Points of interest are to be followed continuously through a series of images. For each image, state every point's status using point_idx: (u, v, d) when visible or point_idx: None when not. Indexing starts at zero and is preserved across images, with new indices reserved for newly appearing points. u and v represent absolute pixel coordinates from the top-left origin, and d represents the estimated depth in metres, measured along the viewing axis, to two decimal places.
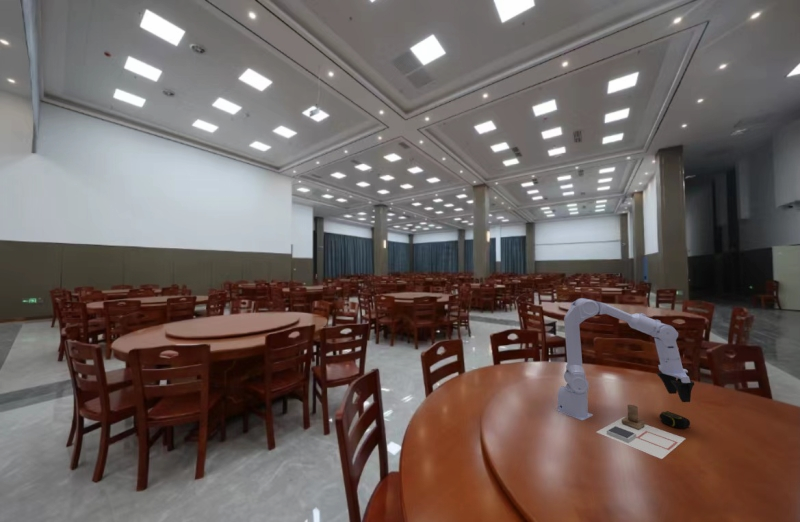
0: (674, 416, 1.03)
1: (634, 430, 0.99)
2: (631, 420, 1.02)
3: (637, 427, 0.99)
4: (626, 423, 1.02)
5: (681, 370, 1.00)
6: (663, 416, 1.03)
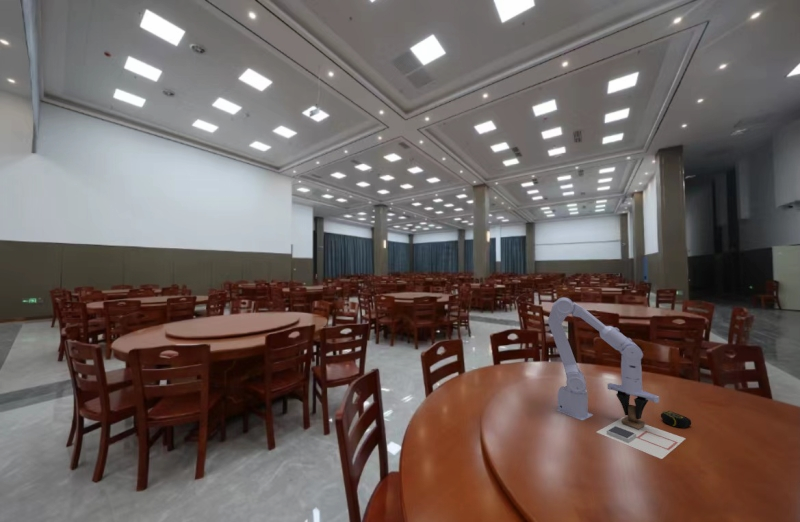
0: (675, 416, 1.03)
1: (634, 430, 0.99)
2: (631, 420, 1.02)
3: (637, 427, 0.99)
4: (626, 423, 1.02)
5: None
6: (664, 416, 1.04)
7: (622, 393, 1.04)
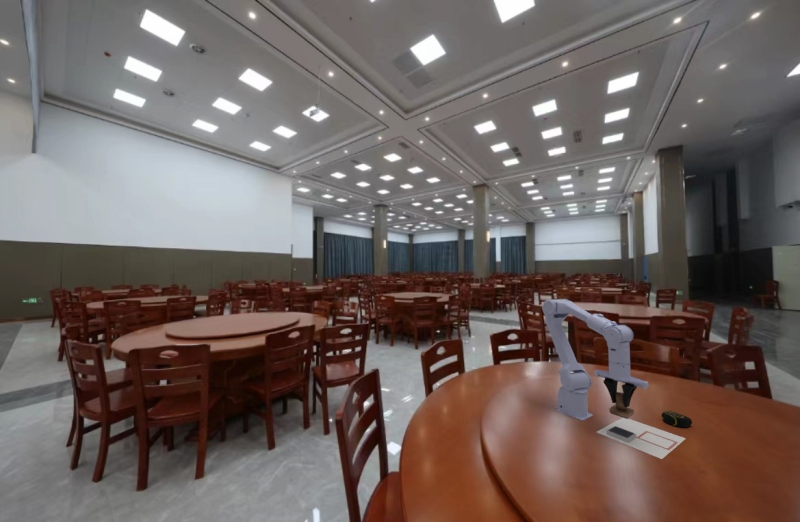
0: (676, 415, 1.03)
1: (634, 430, 0.99)
2: (619, 409, 0.95)
3: (626, 416, 0.93)
4: (614, 412, 0.95)
5: None
6: (665, 416, 1.04)
7: (609, 380, 0.98)
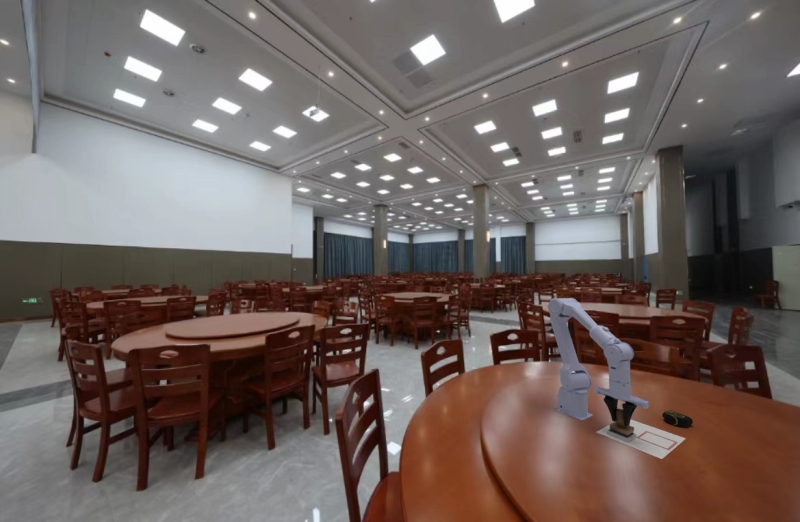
0: (677, 415, 1.03)
1: (634, 430, 0.99)
2: (620, 425, 0.95)
3: (626, 433, 0.92)
4: (614, 429, 0.95)
5: None
6: (666, 415, 1.04)
7: (610, 398, 0.97)
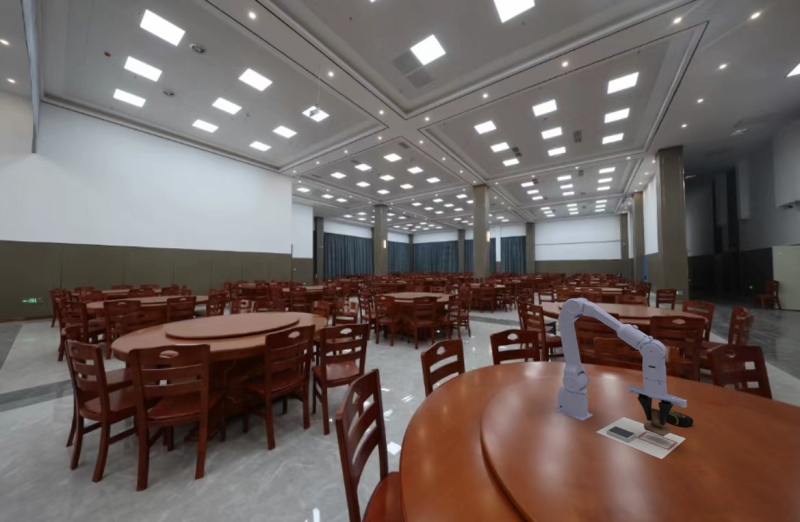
0: (678, 415, 1.04)
1: (634, 430, 0.99)
2: (655, 425, 0.93)
3: (661, 433, 0.90)
4: (649, 428, 0.93)
5: None
6: None
7: (644, 396, 0.95)
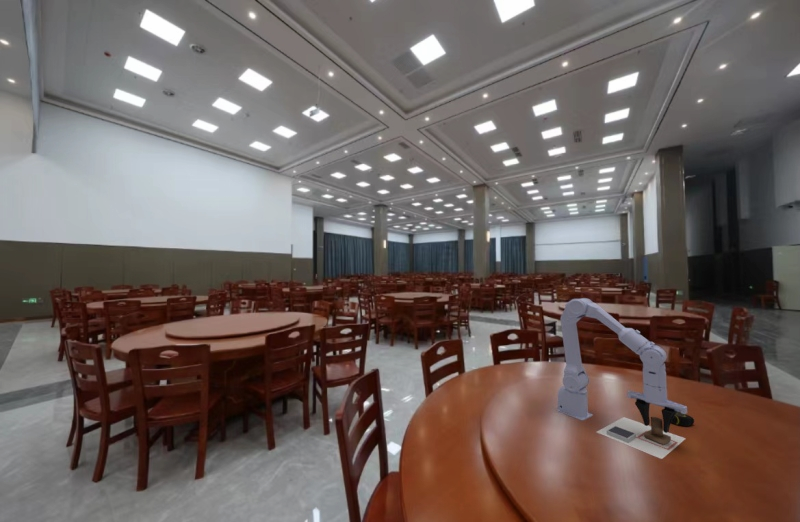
0: (678, 414, 1.04)
1: (634, 430, 0.99)
2: (655, 434, 0.92)
3: (662, 442, 0.90)
4: (649, 437, 0.93)
5: None
6: None
7: (644, 402, 0.95)
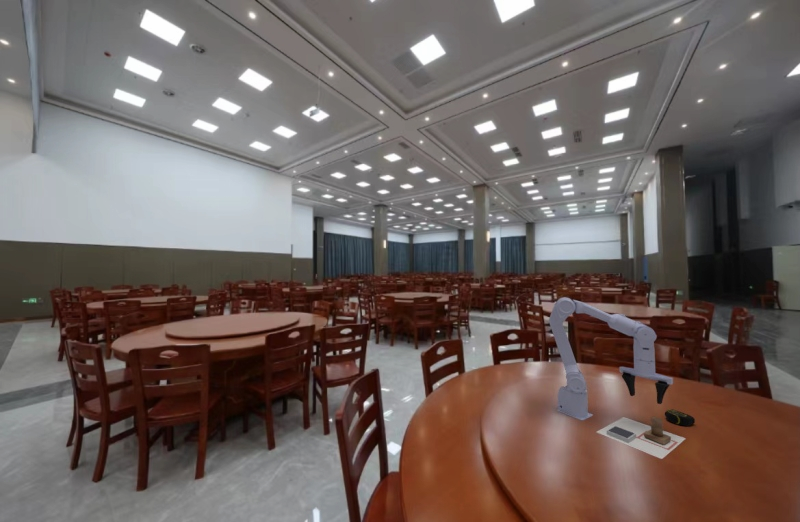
0: (679, 414, 1.04)
1: (634, 430, 0.99)
2: (655, 434, 0.92)
3: (662, 442, 0.90)
4: (649, 437, 0.93)
5: None
6: (668, 414, 1.05)
7: (634, 376, 1.04)
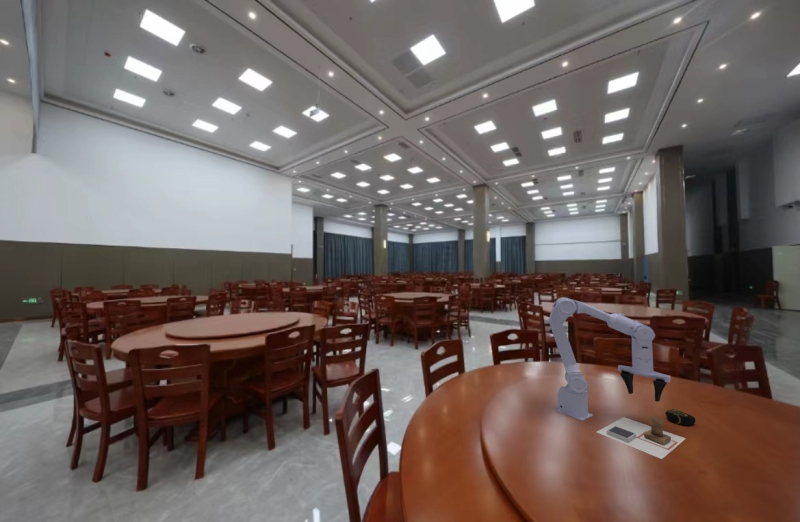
0: (680, 414, 1.05)
1: (634, 430, 0.99)
2: (655, 434, 0.92)
3: (662, 442, 0.90)
4: (649, 437, 0.93)
5: None
6: (669, 414, 1.05)
7: (633, 374, 1.05)
